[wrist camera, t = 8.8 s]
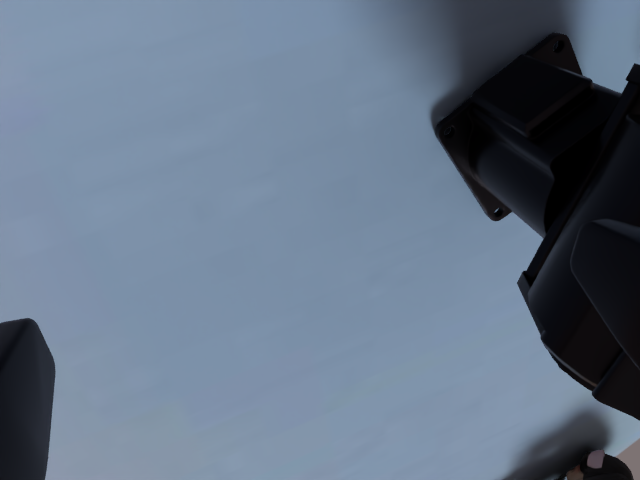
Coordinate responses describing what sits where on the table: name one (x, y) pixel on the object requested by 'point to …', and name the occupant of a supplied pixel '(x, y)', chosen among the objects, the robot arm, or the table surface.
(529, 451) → the table surface
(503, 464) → the table surface
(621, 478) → the toy figure
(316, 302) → the table surface
